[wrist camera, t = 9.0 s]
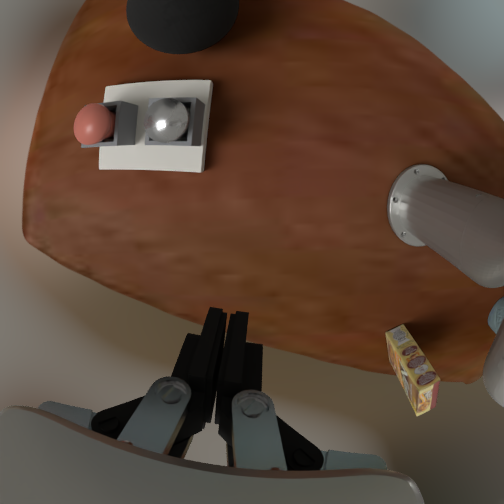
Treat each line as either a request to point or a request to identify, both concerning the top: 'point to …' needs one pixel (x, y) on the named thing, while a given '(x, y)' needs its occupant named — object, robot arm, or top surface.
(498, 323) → the blue cup
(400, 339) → the candy box
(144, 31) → the decorative egg
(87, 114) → the red plunger
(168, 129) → the steel plunger
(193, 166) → the button panel
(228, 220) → the top surface
